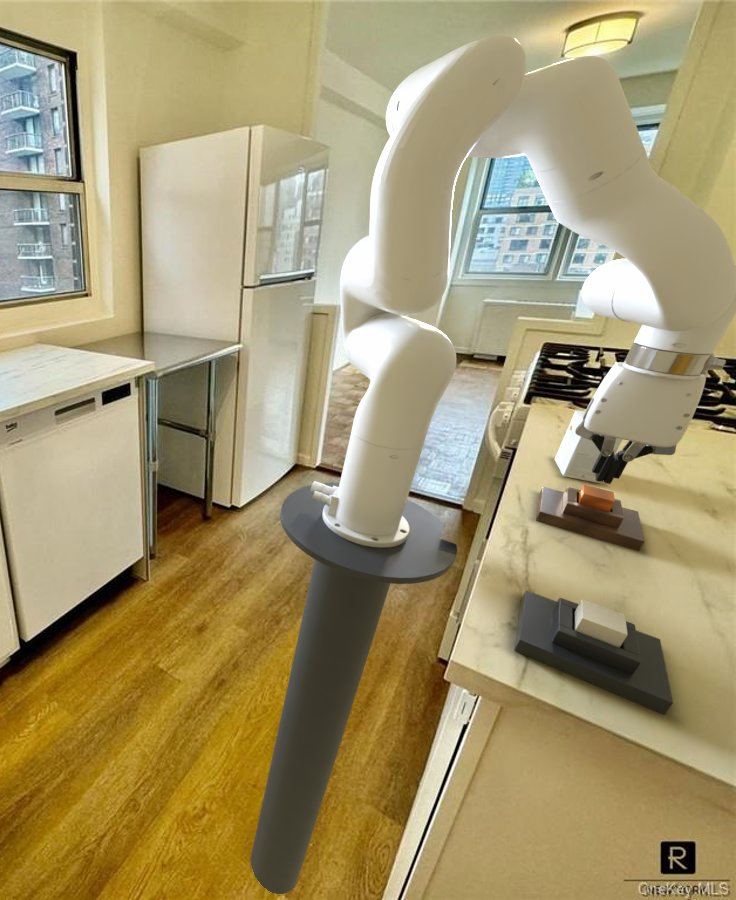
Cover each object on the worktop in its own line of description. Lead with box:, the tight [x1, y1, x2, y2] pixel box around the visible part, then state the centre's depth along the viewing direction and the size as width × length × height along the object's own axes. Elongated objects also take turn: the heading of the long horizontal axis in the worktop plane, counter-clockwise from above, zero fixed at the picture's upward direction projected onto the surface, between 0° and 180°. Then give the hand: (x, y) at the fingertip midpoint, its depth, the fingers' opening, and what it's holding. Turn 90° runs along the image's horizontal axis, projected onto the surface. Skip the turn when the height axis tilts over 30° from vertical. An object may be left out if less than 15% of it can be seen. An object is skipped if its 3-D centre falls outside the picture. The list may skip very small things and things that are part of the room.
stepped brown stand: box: [535, 486, 646, 552], centre depth 75 cm, size 12×10×4 cm
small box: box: [554, 410, 623, 484], centre depth 88 cm, size 8×6×10 cm
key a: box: [574, 599, 628, 648], centre depth 52 cm, size 4×4×2 cm
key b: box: [578, 484, 616, 512], centre depth 74 cm, size 4×4×2 cm
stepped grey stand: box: [514, 590, 674, 715], centre depth 53 cm, size 12×10×4 cm
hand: (602, 479), depth 73 cm, fingers closed
